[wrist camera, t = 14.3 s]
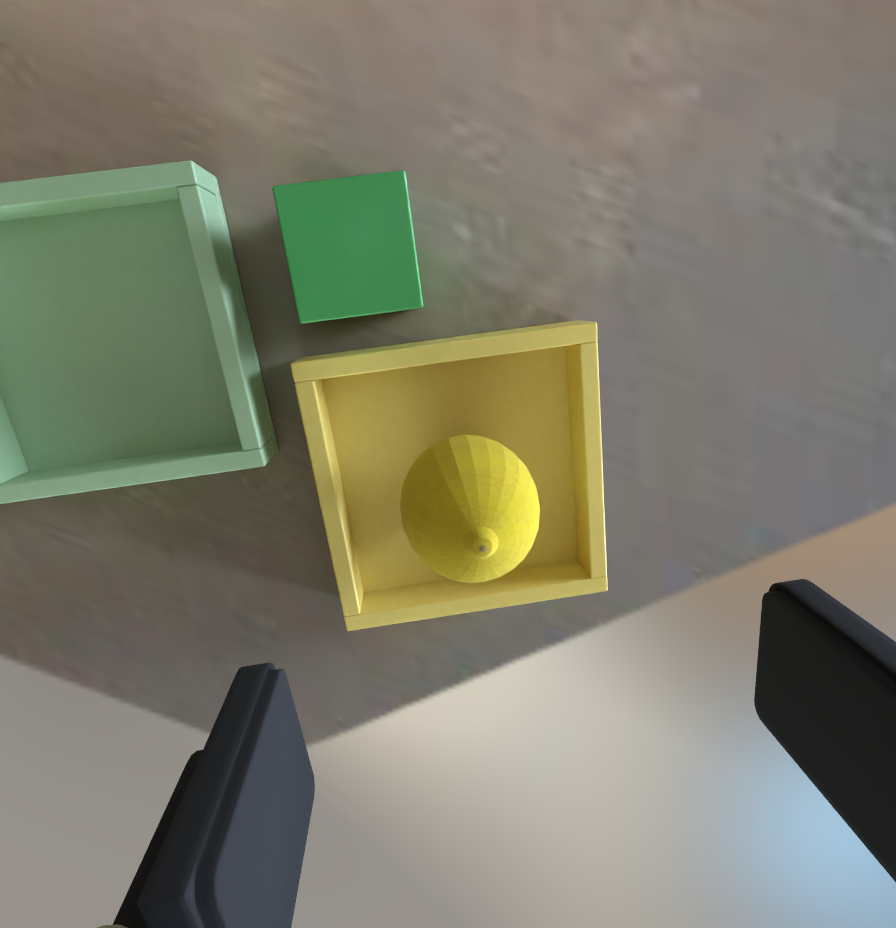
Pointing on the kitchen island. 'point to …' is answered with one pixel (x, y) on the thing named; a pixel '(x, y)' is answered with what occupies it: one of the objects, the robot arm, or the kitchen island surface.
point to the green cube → (349, 246)
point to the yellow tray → (447, 415)
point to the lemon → (470, 508)
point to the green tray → (123, 334)
